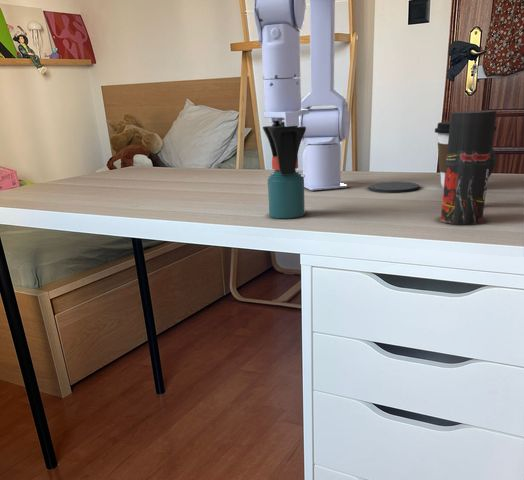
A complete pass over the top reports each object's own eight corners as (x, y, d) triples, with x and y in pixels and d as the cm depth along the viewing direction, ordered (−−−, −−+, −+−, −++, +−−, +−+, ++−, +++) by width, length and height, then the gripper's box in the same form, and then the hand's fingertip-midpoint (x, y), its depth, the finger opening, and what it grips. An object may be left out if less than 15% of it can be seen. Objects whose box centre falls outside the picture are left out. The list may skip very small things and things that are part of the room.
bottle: (264, 213, 91) (262, 159, 88) (297, 209, 93) (296, 156, 89) (275, 220, 86) (273, 163, 82) (309, 215, 88) (309, 160, 84)
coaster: (361, 186, 111) (361, 184, 111) (404, 182, 113) (405, 180, 113) (381, 194, 102) (381, 191, 102) (428, 189, 104) (428, 187, 104)
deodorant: (485, 224, 76) (500, 111, 70) (442, 225, 78) (453, 113, 71) (478, 215, 82) (492, 109, 75) (438, 216, 83) (448, 111, 76)
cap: (274, 171, 84) (273, 159, 83) (270, 167, 88) (269, 156, 87) (300, 169, 85) (300, 157, 84) (295, 165, 88) (295, 154, 88)
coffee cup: (445, 181, 111) (451, 120, 106) (497, 185, 104) (506, 119, 99) (419, 189, 104) (424, 124, 99) (473, 194, 97) (481, 124, 92)
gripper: (318, 76, 74) (319, 176, 80) (297, 79, 87) (299, 165, 93) (269, 78, 74) (273, 179, 80) (255, 81, 87) (260, 168, 93)
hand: (285, 172), depth 86 cm, fingers closed on cap, 4 cm apart
